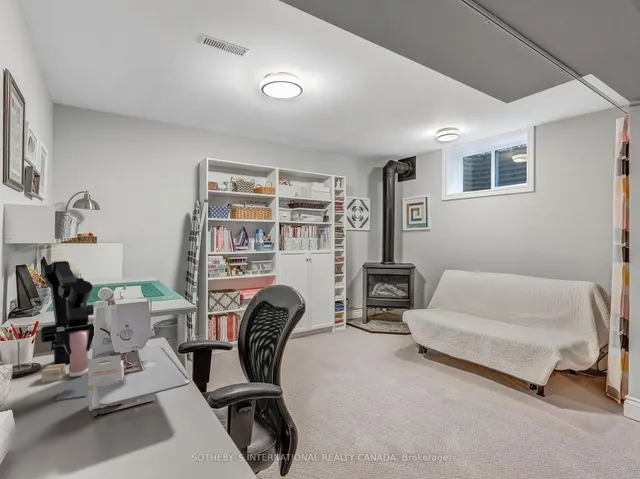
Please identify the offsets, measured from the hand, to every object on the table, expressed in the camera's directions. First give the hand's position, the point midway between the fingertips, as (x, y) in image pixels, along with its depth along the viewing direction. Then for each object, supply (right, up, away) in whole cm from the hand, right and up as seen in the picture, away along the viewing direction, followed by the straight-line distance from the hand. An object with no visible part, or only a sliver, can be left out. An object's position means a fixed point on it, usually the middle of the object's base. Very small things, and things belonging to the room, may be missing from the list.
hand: (78, 352), depth 106 cm
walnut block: (-9, -12, +13) cm, 20 cm away
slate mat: (-1, -12, +1) cm, 12 cm away
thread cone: (-1, -7, +1) cm, 7 cm away
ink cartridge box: (+15, -13, -8) cm, 21 cm away
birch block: (-15, -12, +9) cm, 22 cm away
